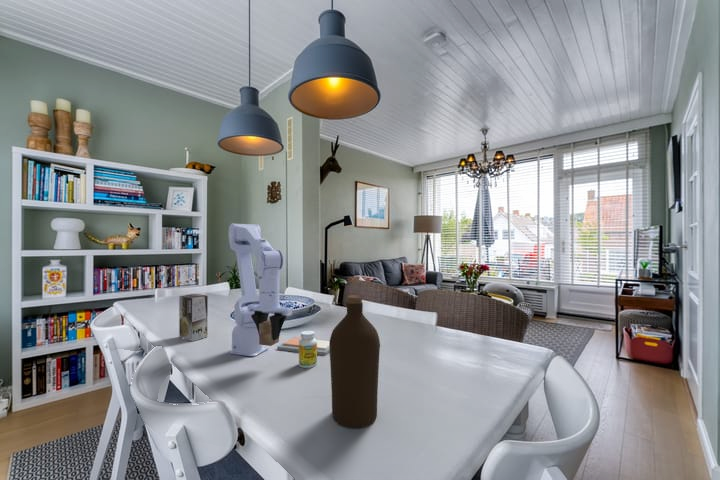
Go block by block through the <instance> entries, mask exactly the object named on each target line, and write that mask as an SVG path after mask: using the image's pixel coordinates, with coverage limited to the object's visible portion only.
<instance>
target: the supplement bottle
mask: <svg viewBox="0 0 720 480" xmlns="http://www.w3.org/2000/svg"><path fill="white" fill-rule="evenodd" d="M315 333H316V332H315V331H314V330H305V331H301V333H300V338H302V339H301V340H300V341H299V352H298V365H299V366H298V367H300V368H303V369H310V368H311V369H312V368H314V367H315V366H316V365H317V364H318V354H317V340H318V339H316V338H315V336H316V334H315Z"/></svg>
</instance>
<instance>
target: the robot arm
mask: <svg viewBox="0 0 720 480" xmlns="http://www.w3.org/2000/svg"><path fill="white" fill-rule="evenodd" d="M261 236H262V230H261V226H260V225H259V224H258V223H255V224H254V223H253V224H249V223H234V222H231V224H230V225H229V227H228V236H227V237H228V243H229V247H230V250H232V251H234V252H235V257H236V260H237V267H238V277H239V283H240V291H241V297H240V298H239V299H238V300H236V302H235V304H234V313H233V314H234V317H233V318H234V322H235V326H234V327H233V329H232V331H231V351H230V352H229V353H230V354H232V355H239V356H247V357H256V356H258V355H260V354H261V353H263V352H265V351H267V350H268V349H269V347H268V346H264V345H259V324H260V323H262V322H265V321H267V320H269V321H271V326H272V338H273V340H276V339H279V340H280V337H281V331H282V327H283V325H284V323H285V321H286V319H287V317H289V316H292V315H293V308H292V307H287V306H284V305H281V304H280V290H281V289H280V285H281V284H280V276H281V275H280V273H281V272H280V270H282V268H283V265H284V256H283V253H282V250H280V249H274V248H273V247H272V245H271V244H270V243H269V241H268V240H266V238H262V237H261ZM252 255H253V256H254V257H255V259H256V260H255V263H256V264H255V265H256V268H257V276H258V291H257V286H256V278H255V271H254V268H253V261H252V260H253V259H252ZM257 292H258V293H257ZM270 314H272V315H270ZM269 315H270V316H269Z"/></svg>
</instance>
